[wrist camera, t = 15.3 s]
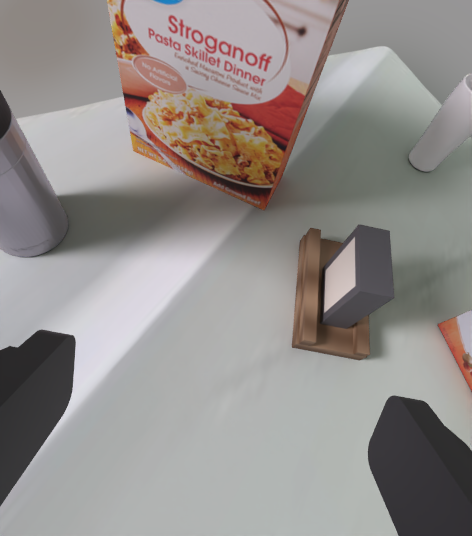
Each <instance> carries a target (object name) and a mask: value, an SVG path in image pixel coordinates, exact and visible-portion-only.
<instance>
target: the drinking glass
mask: <svg viewBox="0 0 472 536" xmlns="http://www.w3.org/2000/svg"><path fill="white" fill-rule="evenodd" d="M471 135H472V73H470V74H468V75H466V76H465V77H464V78H463V79H462V81H461V82H460V83H459V84H458V85H457V86H456V88H455V89H454V90H453V91H452V93H451V94H450V96H449V97H448V98H447V99H446V101H445V102H444V104H443V105H442V106H441V108H440V109H439V111H438V112H437V114H436V115H435V117H434V118H433V120H432V121H431V123H430V124H429V126H428V127H427V129H426V130H425V132H424V133H423V135H422V136H421V138H420V139H419V141H418V142H417V144H416V145H415V146H414V148H413V149H412V150H411V152H410V153H409V161H410V163H411V164H412V165H413V166H414V167H415V168H416V169H418V170H421V171H425V172H429V171H432V170H434V169H435V168H436V167H437V166H438V165H439V164H440V163H441V162H442V161H443V160H444V159H445V158H447V157H448V156H449V155H450V154H451V153H452V152H453V151H454V150H455V149H457V148H458V147H459V146H460V145H461V144H462V143H463V142H464V141H466V140H467V139H468V138H469V137H470V136H471Z"/></svg>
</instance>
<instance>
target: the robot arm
mask: <svg viewBox="0 0 472 536" xmlns="http://www.w3.org/2000/svg"><path fill="white" fill-rule="evenodd" d="M67 229H68V218H67V215H66V213H65V211H64V209H63V207H62V205H61V203H60V202H59V200H58V198H57V196H56V194H55V192H54V190H53V188H52V186H51V184H50V182H49V181H48V179H47V177H46V175H45V173H44V171H43V169H42V167H41V165H40V164H39V162H38V160H37V158H36V156H35V154H34V152H33V150H32V149H31V147H30V145H29V143H28V141H27V139H26V137H25V135H24V133H23V132H22V130H21V128H20V126H19V124H18V123H17V121H16V119H15V117H14V115H13V113H12V111H11V109H10V108H9V106H8V104H7V102H6V100H5V98H4V96H3V94H2V93H1V91H0V249H2V250H3V251H4V252H6V253H8V254H11V255H14V256H19V257H30V256H37V255H40V254H43V253H45V252H47V251H49V250H51V249H53V248H54V247H55V246H57V245H58V244H59V243H60V242H61V240H62V239H63V238H64V236H65V234H66V232H67ZM75 344H76V342H75V338H74V336H73V335H68V334H62V333H57V332H51V331H46V330H39V331H37V332H36V333H35V334H33V335H32V336H31V337H30V338H29V339H27V340H26V341H25V342H24V343H23V344H22V345H20V346H19V347H18V348H17V347H11V346H9V347H7V348H5V349H2V350H0V506H1V504H2V503H3V502H4V500H5V499H6V497H7V496H8V494H9V493H10V491H11V490H12V488H13V487H14V486H15V484H16V483H17V481H18V480H19V478H20V477H21V475H22V474H23V472H24V471H25V470H26V468H27V467H28V465H29V464H30V462H31V461H32V459H33V458H34V456H35V455H36V453H37V452H38V451H39V449H40V448H41V446H42V445H43V443H44V442H45V440H46V439H47V437H48V436H49V435H50V433H51V432H52V430H53V429H54V427H55V426H56V424H57V423H58V421H59V420H60V419H61V417H62V416H63V414H64V412H65V410H66V408H67V406H68V403H69V401H70V398H71V394H72V388H73V374H74V360H75ZM368 461H369V466H370V469H371V471H372V474H373V476H374V479H375V481H376V483H377V486H378V488H379V490H380V493H381V495H382V497H383V500H384V502H385V505H386V507H387V509H388V512H389V514H390V516H391V519H392V521H393V523H394V526H395V528H396V531H397V533H398V535H399V536H472V451H471V450H470V448H469V447H468V446H467V445H466V444H465V443H464V442H463V441H462V440H461V439H460V438H458V437H457V436H456V435H455V434H454V433H453V432H451V431H450V430H449V429H448V428H447V427H446V426H444V425H443V423H442V422H441V421H440V419H439V418H438V417H437V415H436V414H435V413H434V412H433V410H432V409H431V408H430V406H429V405H428V404H427V403H426V402H424V401H421V400H415V399H410V398H405V397H399V396H391V397H390V398H388V400H387V401H386V403H385V406H384V408H383V411H382V413H381V415H380V418H379V420H378V423H377V425H376V427H375V430H374V432H373V435H372V437H371V439H370V442H369V446H368Z"/></svg>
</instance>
